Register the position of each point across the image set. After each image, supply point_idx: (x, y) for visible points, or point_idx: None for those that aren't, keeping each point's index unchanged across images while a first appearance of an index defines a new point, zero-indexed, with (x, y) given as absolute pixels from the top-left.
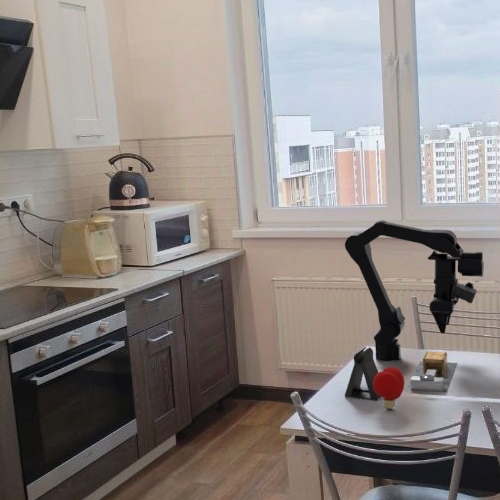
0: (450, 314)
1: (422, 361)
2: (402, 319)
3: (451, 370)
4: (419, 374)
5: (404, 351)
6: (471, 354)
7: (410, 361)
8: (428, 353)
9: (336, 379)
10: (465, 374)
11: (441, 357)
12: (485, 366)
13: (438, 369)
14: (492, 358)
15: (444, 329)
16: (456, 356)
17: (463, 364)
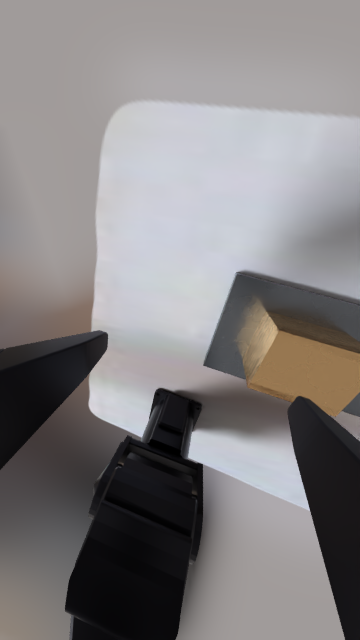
0: (40, 360)
1: (207, 361)
2: (139, 532)
3: (317, 306)
4: None
5: (110, 370)
6: (120, 207)
7: (182, 375)
8: (273, 387)
9: (275, 494)
10: (343, 260)
11: (348, 363)
12: (267, 164)
13: None
14: (165, 118)
15: (335, 427)
16: (142, 261)
17: (226, 250)
